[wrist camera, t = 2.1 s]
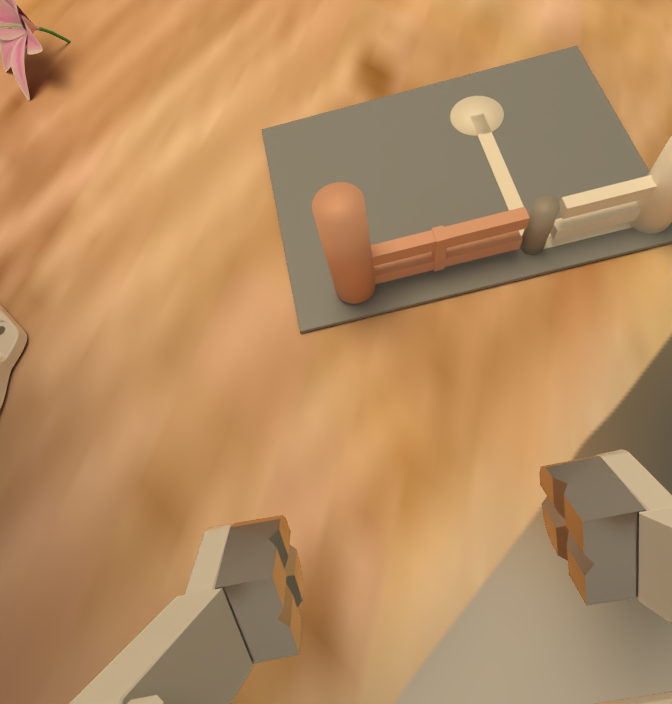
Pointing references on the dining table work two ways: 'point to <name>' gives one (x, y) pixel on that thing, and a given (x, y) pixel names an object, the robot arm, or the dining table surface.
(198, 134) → the dining table surface
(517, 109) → the board
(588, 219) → the fixed fence section
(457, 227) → the hinged fence section
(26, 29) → the lily
